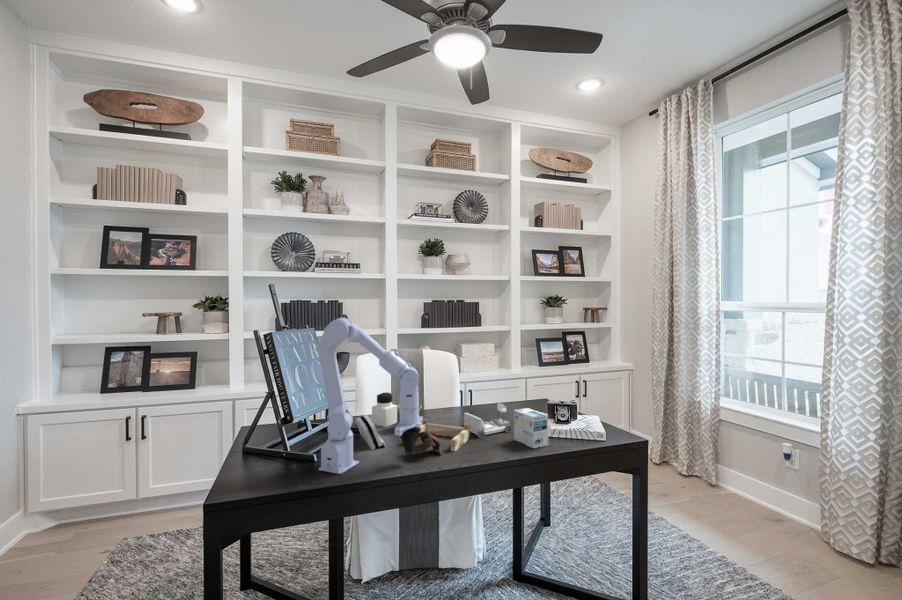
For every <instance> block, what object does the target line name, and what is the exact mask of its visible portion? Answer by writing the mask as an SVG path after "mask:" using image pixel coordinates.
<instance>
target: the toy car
mask: <svg viewBox="0 0 902 600" xmlns="http://www.w3.org/2000/svg"><path fill="white" fill-rule="evenodd" d="M504 404H505V402H502V403H501V402H499V401H498V402H497V406H496V407H497V408H496V409H497V418H496V419H494V418H493V417H491V416H488V417H487V419H486V421H484V420H483V419H482V418H480V417H478V416H476V415H474V414H471V413H469V412H463V423H462V424H461V426H460V427H463V428H465V424H470V433H473V434H474V435H475V436H477V438H478V439H482V438H481V437H484V438H485V437H486V436H487V435H492V434H496V433H500V432H505V433H506V432H508V433H510V432H509V431H511V432H512V431H513V427H512V426H511V422H510V421H508V420H505V413H507V412H508V408H507V406H505V405H504ZM500 412H501V413H502V418H500V416H499V415H500Z"/></svg>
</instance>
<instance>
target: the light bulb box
mask: <svg viewBox="0 0 902 600" xmlns="http://www.w3.org/2000/svg"><path fill="white" fill-rule="evenodd" d="M513 411H514V412H513V415H514V416H513V417H514V418H513V419H514V421H513V422H514V423H513V426H514V427H513V435H514V438H513V440H514V439H515V440H514V441H516V442H518V441H519V442H518V443H520V442H521V443H520V444H522V443H523V445H524V444H525V446H527V447H529V448H530V449H533V448H534V449H537V448H538V447H539V448H543V447H547V446H549V414H548V413H544V412H541V411H537V410H534V409H532V408H529V407H525V408H519V409H514V410H513Z"/></svg>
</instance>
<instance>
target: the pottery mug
mask: <svg viewBox="0 0 902 600" xmlns="http://www.w3.org/2000/svg"><path fill="white" fill-rule="evenodd" d="M417 439H418V440H419V439H420V441H421V442H422V443H420V444H418V445H415V447H414V451H413V453H410V454H411V456H414V455H418V454H422V453H429V449H428V448H430V447H431V448H432V451H433V450H434V451H438V452H439V455H440V456H442V455H443V452H442V446H441V444H440V441H439V439H438V438H437V437H436V435H432V434H430V433H429V432H428V431H423V432H420V433H419V434H418V436H417ZM417 439H416V441H418V440H417Z"/></svg>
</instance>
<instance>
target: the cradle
mask: <svg viewBox="0 0 902 600" xmlns="http://www.w3.org/2000/svg"><path fill="white" fill-rule="evenodd" d="M419 428H420V432H423V431H428V432H429V433H430V434H435V435H434V436H439V435H441V436H440V437H447V436H449V437H448V438H452V439H450V452H456V451H457V450H459V448H461V447H462V446H463V445H464V444H465V443H467V441H469V440H470V439H471V432H470V424H465V428H463V427H461V426H453V425H445V424H437V423H430V422H429V419H428V418H423V422H422V426H420V427H419ZM420 432H419V433H420ZM469 438H470V439H469ZM463 443H464V444H463ZM462 444H463V445H462ZM461 445H462V446H461ZM460 446H461V447H460Z"/></svg>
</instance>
